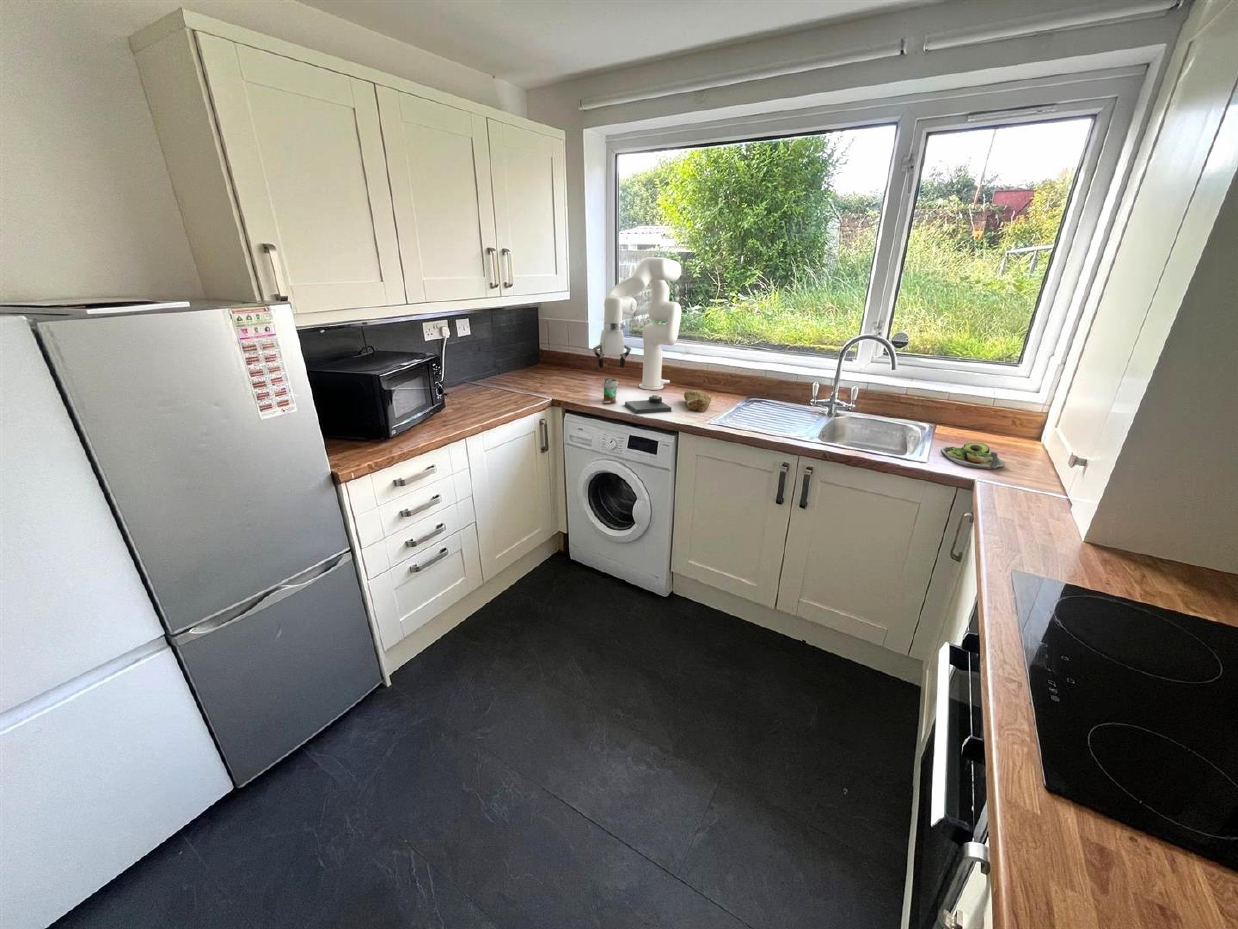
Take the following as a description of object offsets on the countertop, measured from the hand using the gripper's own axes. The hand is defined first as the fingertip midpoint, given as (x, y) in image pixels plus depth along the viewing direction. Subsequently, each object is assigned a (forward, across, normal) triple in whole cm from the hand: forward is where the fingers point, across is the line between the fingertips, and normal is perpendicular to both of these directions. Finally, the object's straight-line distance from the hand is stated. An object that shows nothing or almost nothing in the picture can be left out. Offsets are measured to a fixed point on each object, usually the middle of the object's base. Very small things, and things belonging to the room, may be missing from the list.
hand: (611, 367), depth 218 cm
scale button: (+12, -18, +9) cm, 24 cm away
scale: (+16, -12, +14) cm, 24 cm away
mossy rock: (+16, -36, +15) cm, 41 cm away
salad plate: (+16, -94, +100) cm, 138 cm away
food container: (+16, 0, 0) cm, 16 cm away
